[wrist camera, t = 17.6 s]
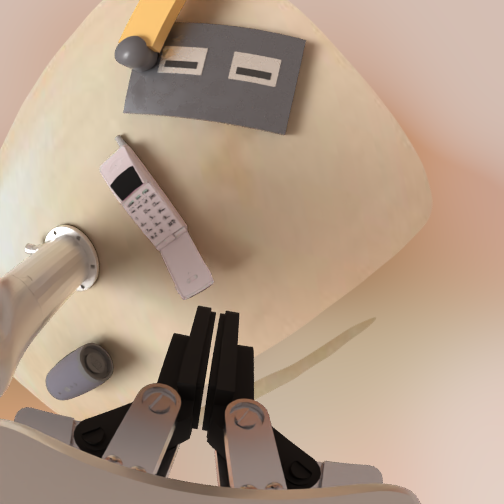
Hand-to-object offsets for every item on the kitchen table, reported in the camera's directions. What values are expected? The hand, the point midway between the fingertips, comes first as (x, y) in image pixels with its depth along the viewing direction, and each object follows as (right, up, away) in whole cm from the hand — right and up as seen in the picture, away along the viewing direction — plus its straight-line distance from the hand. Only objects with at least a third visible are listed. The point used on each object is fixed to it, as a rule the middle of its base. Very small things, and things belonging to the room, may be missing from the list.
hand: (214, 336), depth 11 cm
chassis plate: (-4, +27, +20) cm, 34 cm away
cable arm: (-9, +37, +13) cm, 41 cm away
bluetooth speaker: (-38, -22, +42) cm, 61 cm away
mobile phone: (-12, +10, +28) cm, 32 cm away
